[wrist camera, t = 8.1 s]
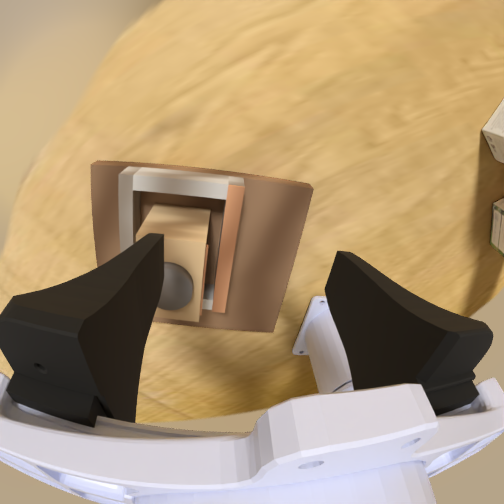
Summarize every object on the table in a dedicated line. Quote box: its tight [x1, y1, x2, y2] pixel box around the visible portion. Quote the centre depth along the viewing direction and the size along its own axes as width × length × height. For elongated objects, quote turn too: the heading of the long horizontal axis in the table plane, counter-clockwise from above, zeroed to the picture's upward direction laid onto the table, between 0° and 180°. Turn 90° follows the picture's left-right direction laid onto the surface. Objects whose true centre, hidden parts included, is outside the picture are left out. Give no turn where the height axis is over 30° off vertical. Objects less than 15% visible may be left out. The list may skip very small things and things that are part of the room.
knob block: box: [136, 203, 211, 322], centre depth 19 cm, size 4×6×6 cm
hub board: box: [91, 161, 313, 332], centre depth 22 cm, size 16×14×3 cm
